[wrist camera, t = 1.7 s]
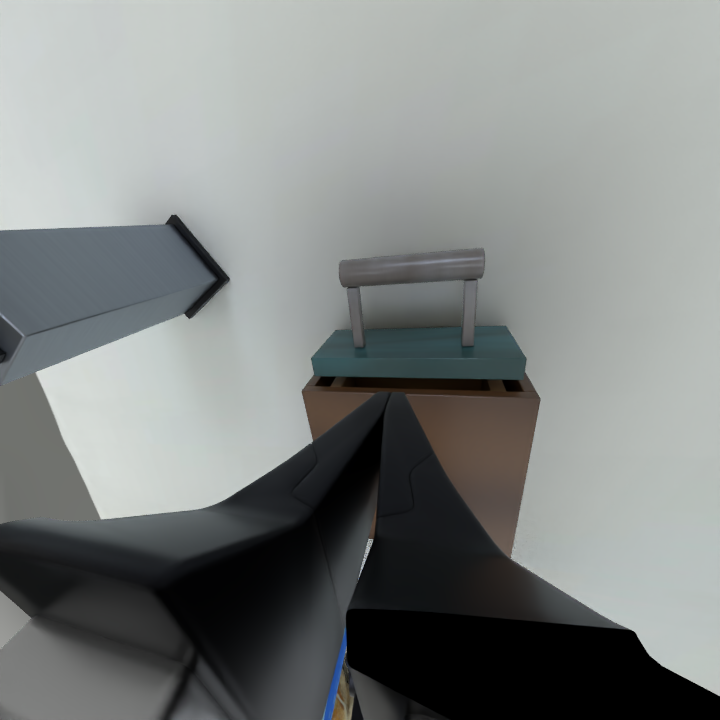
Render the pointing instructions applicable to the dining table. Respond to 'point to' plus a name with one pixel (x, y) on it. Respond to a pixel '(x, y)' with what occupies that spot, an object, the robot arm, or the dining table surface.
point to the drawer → (419, 333)
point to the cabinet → (458, 440)
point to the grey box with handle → (94, 288)
